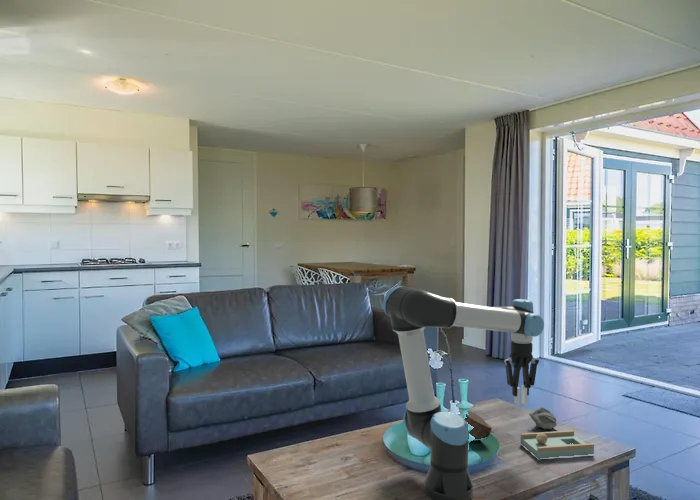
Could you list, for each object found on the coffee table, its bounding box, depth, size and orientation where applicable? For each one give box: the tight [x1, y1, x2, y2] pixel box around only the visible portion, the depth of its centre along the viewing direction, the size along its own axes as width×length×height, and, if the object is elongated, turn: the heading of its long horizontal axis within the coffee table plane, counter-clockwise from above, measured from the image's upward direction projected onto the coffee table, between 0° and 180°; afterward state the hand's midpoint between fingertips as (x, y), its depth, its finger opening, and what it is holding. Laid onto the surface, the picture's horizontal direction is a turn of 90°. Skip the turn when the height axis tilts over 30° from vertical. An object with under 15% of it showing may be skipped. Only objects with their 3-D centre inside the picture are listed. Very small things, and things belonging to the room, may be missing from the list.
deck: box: [520, 430, 595, 459], centre depth 187 cm, size 22×13×4 cm, turn 99°
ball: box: [536, 432, 548, 444], centre depth 186 cm, size 4×4×4 cm
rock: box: [464, 411, 493, 439], centre depth 195 cm, size 12×10×10 cm
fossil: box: [528, 406, 558, 430], centre depth 209 cm, size 11×9×8 cm
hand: (520, 404), depth 184 cm, fingers open, 2 cm apart
